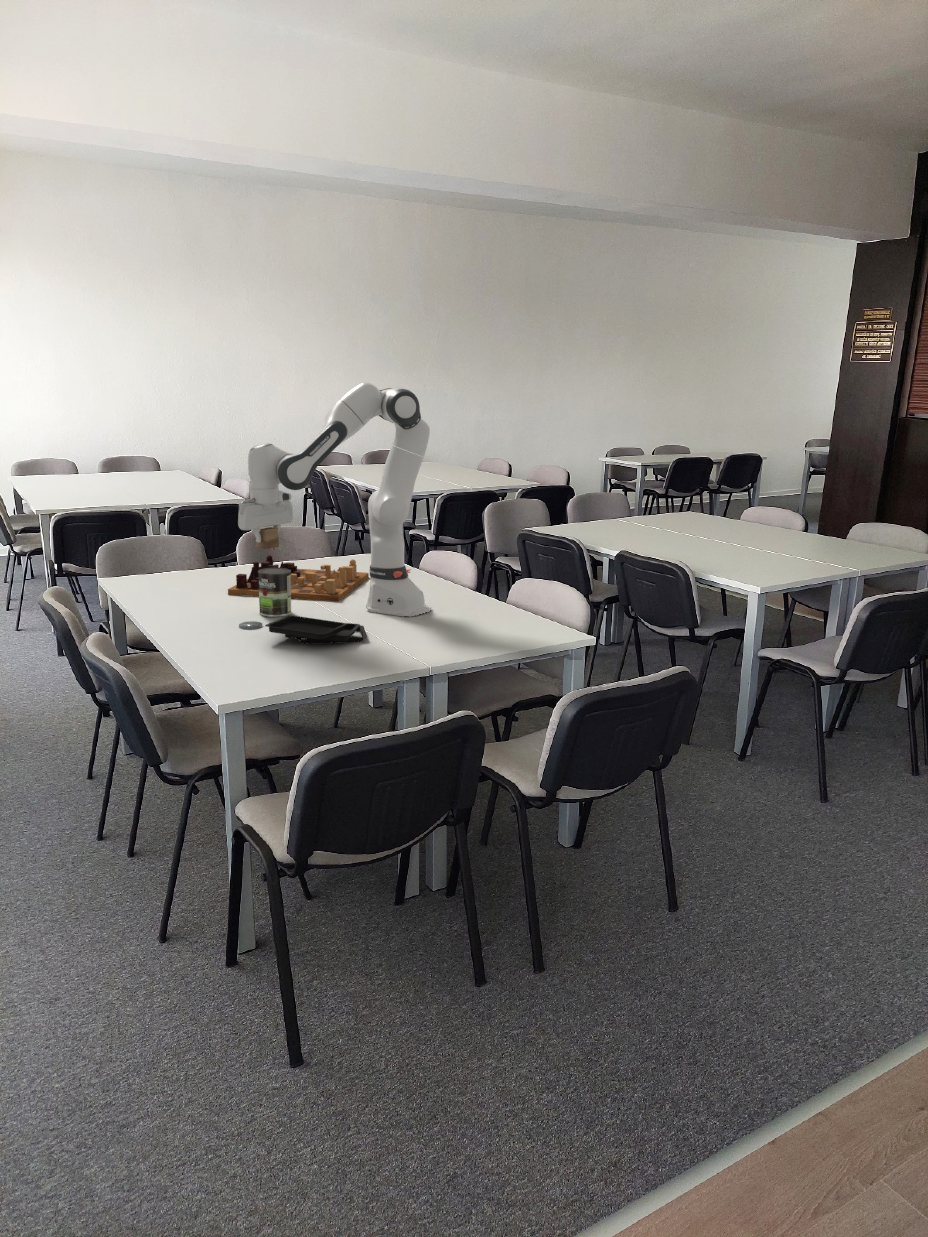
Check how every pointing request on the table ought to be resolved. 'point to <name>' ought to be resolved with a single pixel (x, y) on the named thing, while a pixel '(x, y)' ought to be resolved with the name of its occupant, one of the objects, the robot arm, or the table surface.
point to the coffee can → (274, 592)
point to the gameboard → (305, 581)
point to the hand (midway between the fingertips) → (267, 540)
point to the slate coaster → (250, 625)
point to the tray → (317, 630)
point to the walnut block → (268, 538)
